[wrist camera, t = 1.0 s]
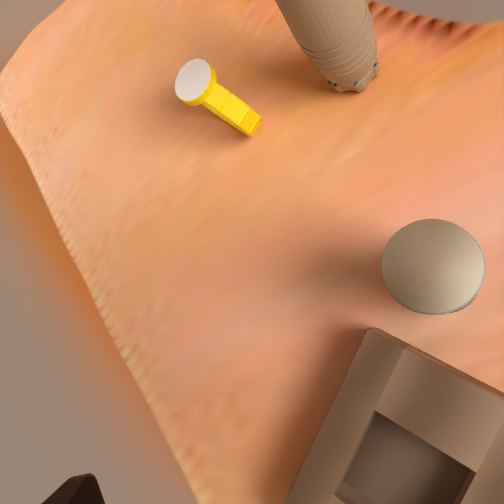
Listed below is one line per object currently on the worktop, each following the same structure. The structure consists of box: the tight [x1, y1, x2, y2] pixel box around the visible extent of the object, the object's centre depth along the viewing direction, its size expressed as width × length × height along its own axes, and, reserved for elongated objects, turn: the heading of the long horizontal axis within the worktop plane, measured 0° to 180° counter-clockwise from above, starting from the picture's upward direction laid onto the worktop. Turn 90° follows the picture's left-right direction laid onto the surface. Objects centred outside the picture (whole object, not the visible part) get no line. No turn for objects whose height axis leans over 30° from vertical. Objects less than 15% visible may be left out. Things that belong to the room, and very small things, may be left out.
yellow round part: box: [175, 59, 262, 137], centre depth 28 cm, size 6×3×6 cm, turn 51°
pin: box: [381, 219, 485, 315], centre depth 19 cm, size 4×4×8 cm
